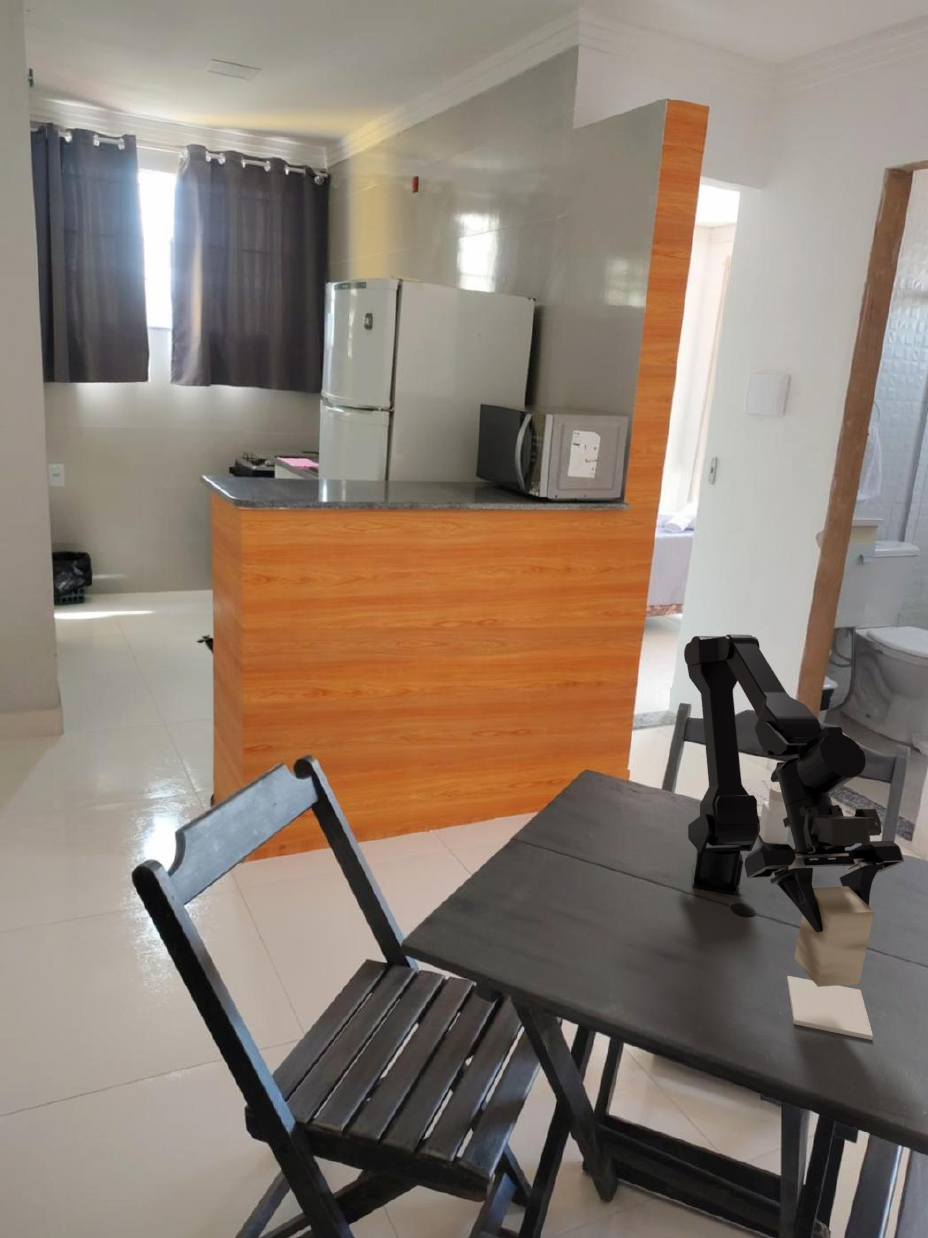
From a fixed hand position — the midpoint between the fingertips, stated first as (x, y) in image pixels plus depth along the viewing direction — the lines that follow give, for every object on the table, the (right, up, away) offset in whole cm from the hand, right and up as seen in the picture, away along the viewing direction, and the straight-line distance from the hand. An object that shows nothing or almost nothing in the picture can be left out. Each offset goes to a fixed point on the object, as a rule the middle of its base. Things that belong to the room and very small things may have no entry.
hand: (841, 930), depth 112 cm
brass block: (-1, -6, +3) cm, 7 cm away
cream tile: (0, -11, +5) cm, 13 cm away
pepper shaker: (+7, -1, +48) cm, 49 cm away
